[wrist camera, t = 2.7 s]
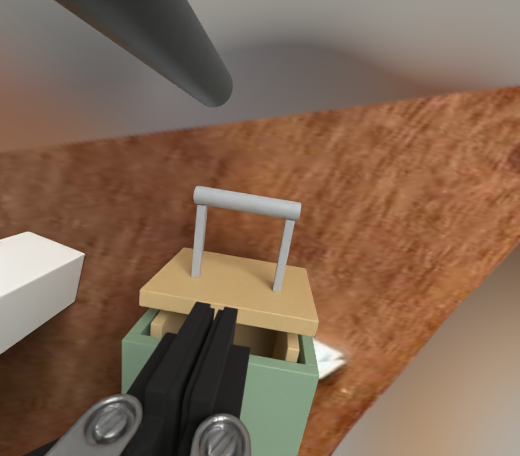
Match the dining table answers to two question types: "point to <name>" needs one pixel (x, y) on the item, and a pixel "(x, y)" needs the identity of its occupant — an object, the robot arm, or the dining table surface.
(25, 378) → the dining table surface
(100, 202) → the dining table surface
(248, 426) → the cabinet
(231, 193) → the drawer
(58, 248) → the milk
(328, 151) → the dining table surface
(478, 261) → the dining table surface
